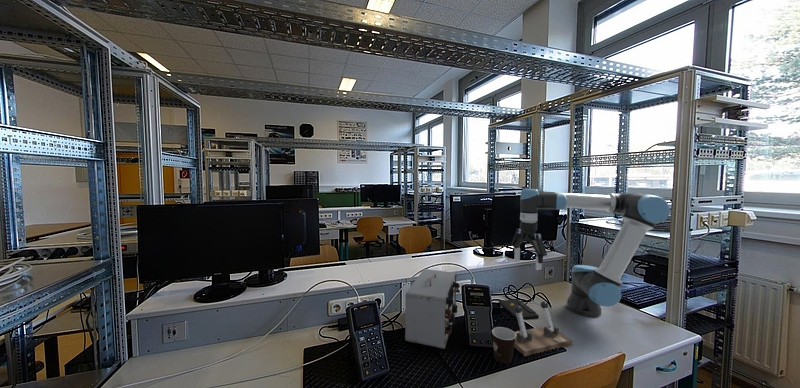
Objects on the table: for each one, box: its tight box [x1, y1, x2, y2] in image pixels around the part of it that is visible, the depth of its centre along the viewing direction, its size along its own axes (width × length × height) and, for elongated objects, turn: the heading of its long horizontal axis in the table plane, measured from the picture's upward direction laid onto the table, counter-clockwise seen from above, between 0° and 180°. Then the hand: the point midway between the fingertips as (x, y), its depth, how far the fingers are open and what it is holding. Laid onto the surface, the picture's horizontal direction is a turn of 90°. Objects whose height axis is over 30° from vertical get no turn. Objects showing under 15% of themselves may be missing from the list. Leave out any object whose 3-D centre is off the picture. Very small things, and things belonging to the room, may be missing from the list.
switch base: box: [513, 324, 573, 357], centre depth 119 cm, size 24×12×5 cm, turn 108°
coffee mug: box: [490, 326, 516, 365], centre depth 110 cm, size 12×9×10 cm
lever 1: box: [514, 306, 528, 339], centre depth 118 cm, size 3×3×12 cm
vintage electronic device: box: [404, 268, 461, 350], centre depth 128 cm, size 32×18×25 cm, turn 161°
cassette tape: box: [498, 298, 540, 321], centre depth 146 cm, size 18×12×2 cm, turn 9°
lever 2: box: [540, 301, 555, 333], centre depth 123 cm, size 3×3×12 cm
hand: (527, 265), depth 137 cm, fingers open, 13 cm apart
